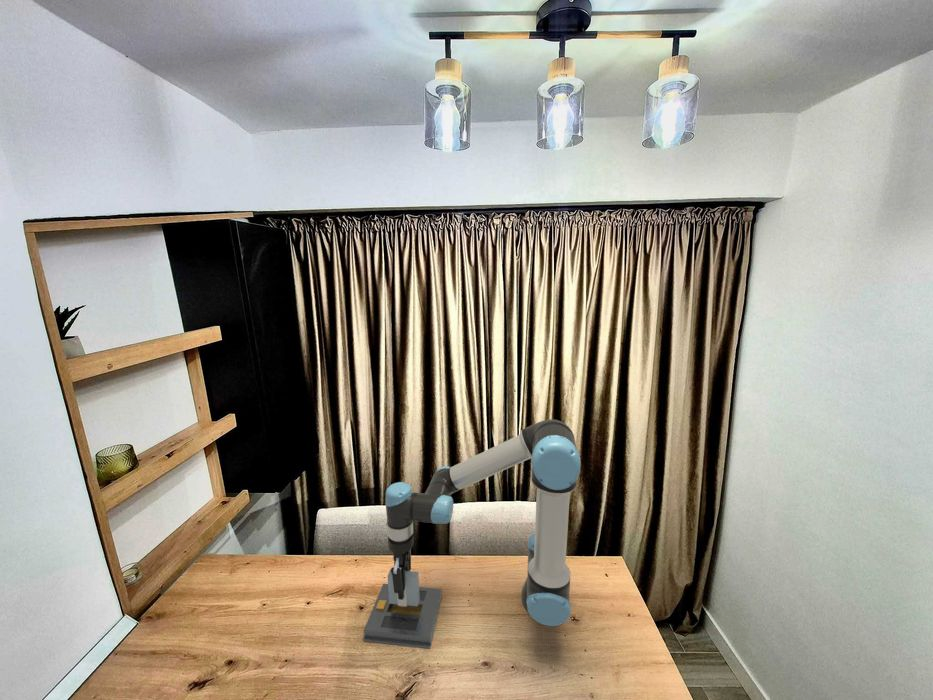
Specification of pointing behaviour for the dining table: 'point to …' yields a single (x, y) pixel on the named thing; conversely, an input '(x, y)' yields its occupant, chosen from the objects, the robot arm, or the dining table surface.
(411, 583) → the panel
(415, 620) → the panel
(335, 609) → the dining table surface
